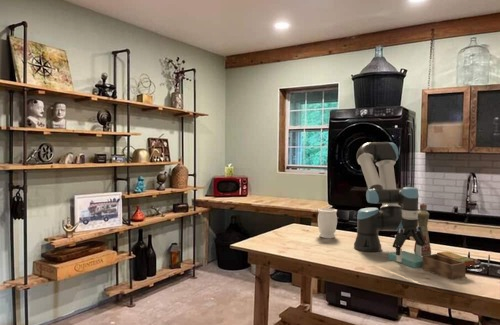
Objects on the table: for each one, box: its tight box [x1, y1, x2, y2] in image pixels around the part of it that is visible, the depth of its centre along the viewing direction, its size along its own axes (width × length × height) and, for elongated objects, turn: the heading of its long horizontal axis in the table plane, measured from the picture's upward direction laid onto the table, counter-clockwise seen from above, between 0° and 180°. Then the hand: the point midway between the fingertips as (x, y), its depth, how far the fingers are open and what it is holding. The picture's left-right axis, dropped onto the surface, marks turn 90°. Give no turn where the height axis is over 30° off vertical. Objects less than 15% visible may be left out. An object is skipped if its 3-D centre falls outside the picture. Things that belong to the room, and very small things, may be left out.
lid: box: [387, 250, 423, 269], centre depth 183 cm, size 17×11×4 cm, turn 25°
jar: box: [317, 207, 338, 239], centre depth 238 cm, size 13×12×18 cm
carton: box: [436, 251, 476, 266], centre depth 182 cm, size 8×16×4 cm, turn 17°
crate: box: [422, 253, 467, 281], centre depth 166 cm, size 15×9×7 cm, turn 25°
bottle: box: [413, 203, 432, 256], centre depth 198 cm, size 9×9×28 cm
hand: (408, 259), depth 183 cm, fingers open, 13 cm apart
